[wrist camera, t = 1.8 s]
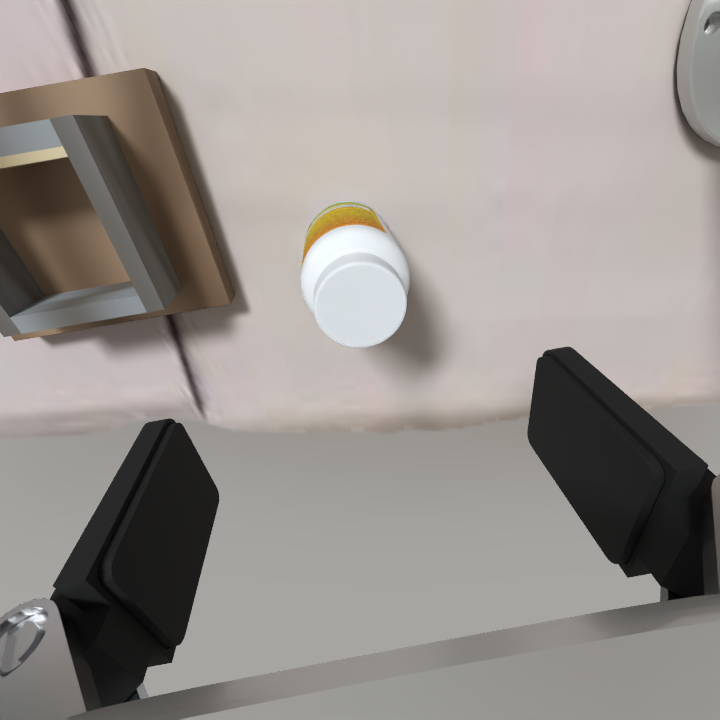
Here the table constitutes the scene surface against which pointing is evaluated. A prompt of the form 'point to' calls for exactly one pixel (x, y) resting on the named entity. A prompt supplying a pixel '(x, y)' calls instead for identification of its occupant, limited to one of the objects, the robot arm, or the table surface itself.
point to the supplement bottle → (354, 275)
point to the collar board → (99, 209)
